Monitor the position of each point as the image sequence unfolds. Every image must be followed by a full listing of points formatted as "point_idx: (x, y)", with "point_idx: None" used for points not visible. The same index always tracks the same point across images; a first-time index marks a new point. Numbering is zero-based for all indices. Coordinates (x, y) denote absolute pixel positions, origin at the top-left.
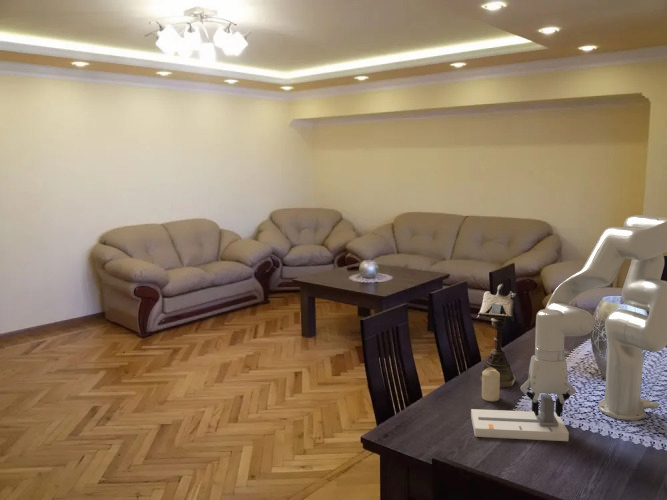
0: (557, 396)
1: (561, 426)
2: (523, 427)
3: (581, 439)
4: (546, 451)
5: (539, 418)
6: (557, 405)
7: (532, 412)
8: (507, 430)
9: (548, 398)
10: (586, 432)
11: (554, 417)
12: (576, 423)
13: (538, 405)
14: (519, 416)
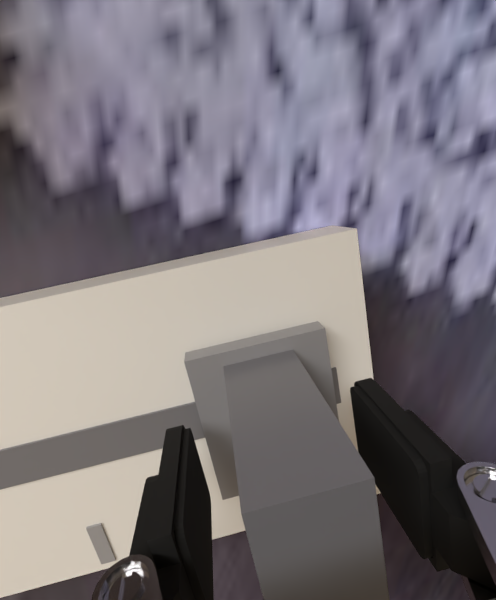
0: (470, 521)
1: (355, 433)
2: (119, 530)
3: (427, 413)
4: (253, 573)
5: (219, 442)
6: (404, 509)
7: (160, 289)
8: (26, 586)
9: (340, 593)
10: (470, 328)
11: (327, 391)
12: (441, 228)
13: (210, 595)
14: (67, 390)
